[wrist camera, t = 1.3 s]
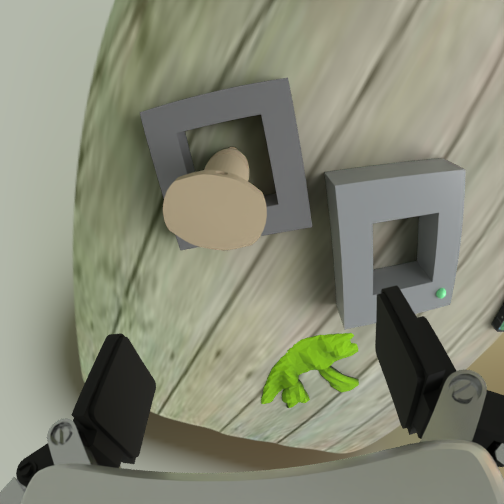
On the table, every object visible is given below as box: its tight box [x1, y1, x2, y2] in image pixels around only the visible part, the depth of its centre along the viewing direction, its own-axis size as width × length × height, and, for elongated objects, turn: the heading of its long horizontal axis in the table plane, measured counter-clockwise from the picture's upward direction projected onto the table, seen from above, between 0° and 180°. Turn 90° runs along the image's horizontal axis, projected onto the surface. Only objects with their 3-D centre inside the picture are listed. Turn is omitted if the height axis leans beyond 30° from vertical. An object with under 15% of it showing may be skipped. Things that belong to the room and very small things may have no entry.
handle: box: [163, 147, 267, 250], centre depth 26 cm, size 5×6×15 cm
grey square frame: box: [140, 78, 312, 250], centre depth 31 cm, size 15×14×4 cm
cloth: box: [261, 333, 359, 408], centre depth 49 cm, size 20×22×2 cm
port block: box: [324, 158, 465, 329], centre depth 34 cm, size 18×15×6 cm
